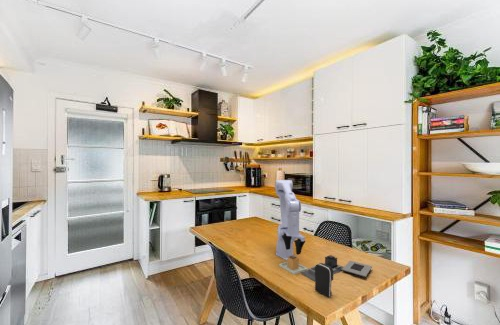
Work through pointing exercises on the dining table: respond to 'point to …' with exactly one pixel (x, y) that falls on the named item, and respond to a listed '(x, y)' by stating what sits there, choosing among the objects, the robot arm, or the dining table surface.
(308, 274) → the pdu strip
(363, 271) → the electrical outlet
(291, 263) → the plug
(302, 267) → the tray
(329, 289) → the battery charger
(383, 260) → the dining table surface
